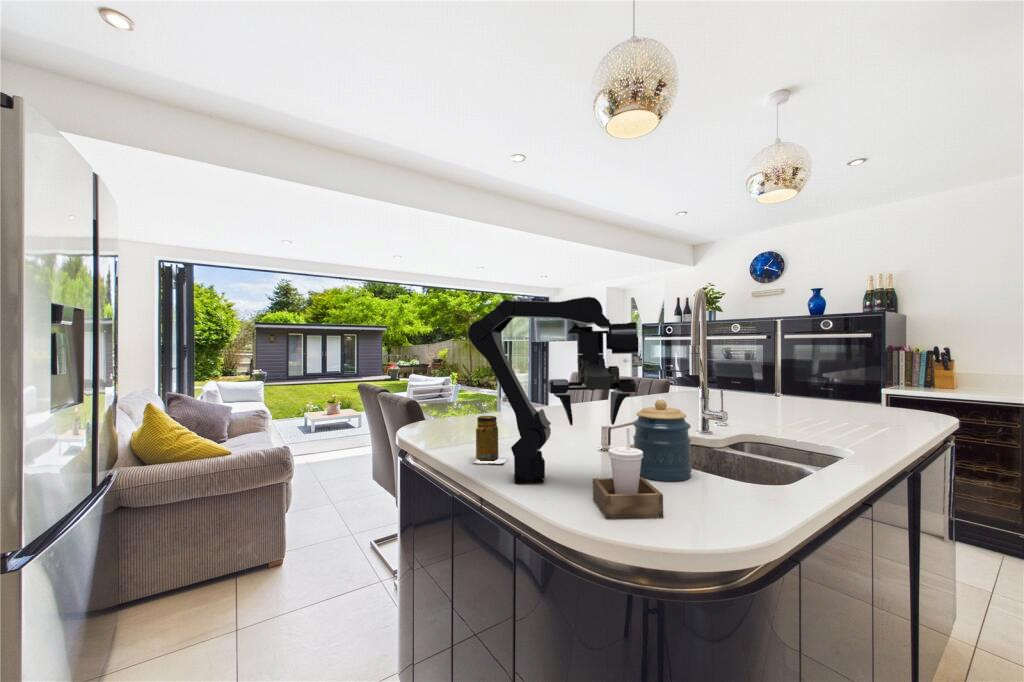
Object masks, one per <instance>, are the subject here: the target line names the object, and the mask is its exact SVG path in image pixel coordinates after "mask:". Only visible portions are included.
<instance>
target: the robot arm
mask: <svg viewBox="0 0 1024 682" xmlns="http://www.w3.org/2000/svg"><path fill="white" fill-rule="evenodd" d="M514 318H531V319H532V318H536V319H537V318H538V319H561V320H567V321H571V322H575V323H574V324H573V326H572V328H570V329H569V330H568V332H567V333H568V334H569V335H576V339H577V340H576V341H577V344H576V345H577V346H576V349H577V352H576V353H577V359H576V360H577V361H576V363H577V381H569V380H568V379H567V378H550V379H549V380H548V382H547V392H548V393H550V394H553V396H554V397H556V398H558V399H559V401H560V402H561V404H562V407H563V409H564V411H565V414H566V417H567V420H568V424H569V425H570V426H571V427H572V426H573V419H574V418H573V412H572V404H571V403H572V401H571V394H569V391H595V390H597V391H598V390H602V391H608V390H613V391H610V411H609V412H610V414H609V415H610V416H609V417H610V424H611V425H612V426H615V423H616V420H617V417H618V415H619V414H618V413H619V410H620V407H621V405H622V404H623V401H624V400H625V399H626V398H627V397H630V396H631V393H637V390H638V389H637V383H636V380H635V379H633V378H630V377H620V368H619V366H618V365H609V366H608V367H607V366H606V361H605V358H604V357H605V356H604V355H605V353H604V334H605V337H606V338H605V343H606V345H605V346H606V347H605V348H606V350H611V354H612V355H614V354H615V355H616V354H617V355H618V354H619V355H621V354H624V355H625V354H630V355H631V354H635V355H636V354H639V336H638V329H637V327H638V326H637V325H638V324H637V322H636V321H634V322H633V321H629V322H625V323H624V322H623V323H611V322H610V319H608V318H607V317H606V316H605V315H604V311H603V306H602V304H601V302H600V301H599V300H598V298H596V297H592V296H583V297H577V298H573V299H572V298H571V299H568V300H562V301H550V300H549V301H546V300H544V301H543V300H512V299H504V300H503V301H501V303H499V304H498V305H497V306H496V307H495V308H494V309H492V310H491V311H489V312H488V313H487V314H485V315H484V316H483V317H482V318H481V319H480V320H476V321H473V323H472V324H470V326H469V328H468V331H467V336H468V337H467V338H468V340H469V341H470V342H471V344H472V345H473V346H474V348H475V349H476V350H477V351H478V353H480V354H481V355H482V357H484V358H485V360H487V363H488V364H489V366H490V368H491V370H492V372H493V373H494V376H495V379H497V382H498V384H499V385H500V388H501V389H502V391H503V393H504V396H505V398H506V399H507V402H508V403H509V404H510V405H509V406H511V409H512V410H513V413H514V415H515V421H516V427H517V430H518V433H519V437H520V438H519V439H518V440H517V441H516V442H515V443H514V444H513V445H512V446H511V448H510V449H511V452H512V455H513V464H514V465H513V467H514V469H513V470H514V473H513V481H514V484H515V485H519V484H520V485H521V484H522V485H523V484H525V485H526V484H528V485H529V484H544V482H545V481H544V479H545V478H546V461H545V458H544V457H543V453H542V451H541V449H542V447H544V446H545V444H546V443H547V441H548V440H549V439H550V436H551V431H552V430H551V424H552V423H551V422H550V421H549V419H548V418H547V416H546V412H545V410H544V408H541V409H539V410H537V409H536V408H535V407H534V406H533V405H532V403H531V401H530V400H529V398H528V396H527V394H526V392H525V390H524V388H523V385H522V384H521V383H520V380H519V379H518V377H517V375H516V373H515V371H514V369H513V368H512V367H513V366H512V365H511V363H510V362H509V359H508V358H507V356H506V354H505V351H504V344H503V340H502V337H501V333H502V332H503V331H504V330H505V329H506V328H507V326H508V325H509V324H510V323H511V322H512V321H513V320H514ZM577 323H579V324H584V325H596V326H597V327H599V328H600V329H604V330H594V329H593V326H579V325H578V324H577ZM605 329H608V330H605Z"/></svg>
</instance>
